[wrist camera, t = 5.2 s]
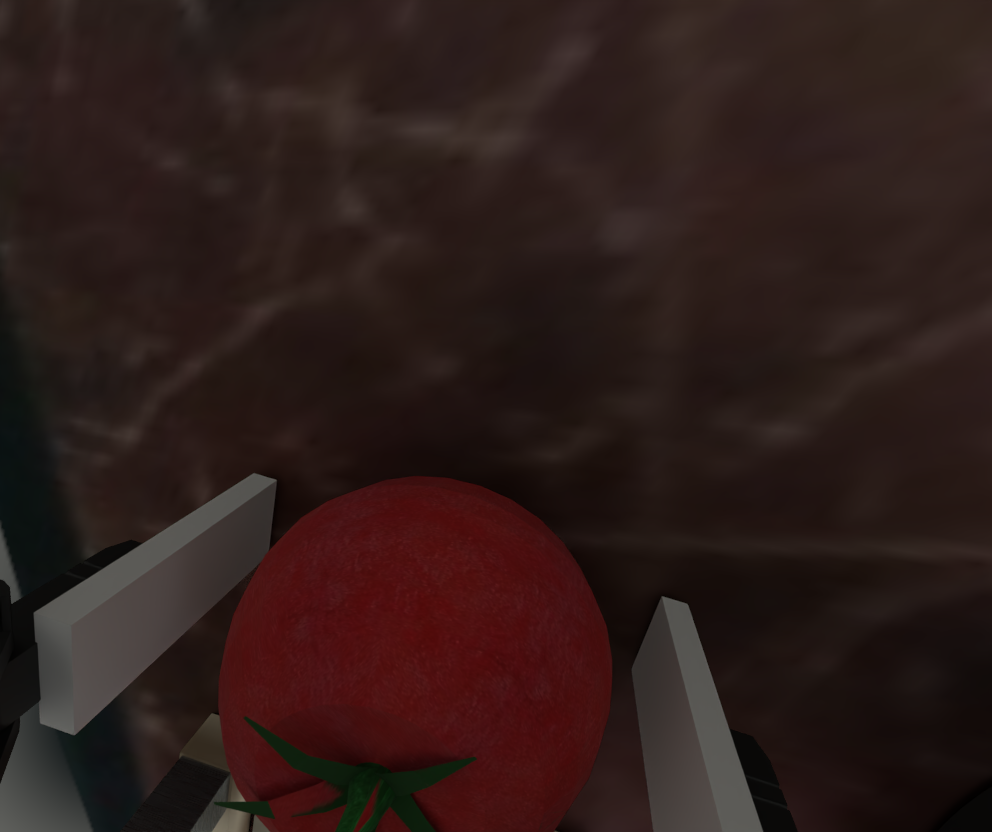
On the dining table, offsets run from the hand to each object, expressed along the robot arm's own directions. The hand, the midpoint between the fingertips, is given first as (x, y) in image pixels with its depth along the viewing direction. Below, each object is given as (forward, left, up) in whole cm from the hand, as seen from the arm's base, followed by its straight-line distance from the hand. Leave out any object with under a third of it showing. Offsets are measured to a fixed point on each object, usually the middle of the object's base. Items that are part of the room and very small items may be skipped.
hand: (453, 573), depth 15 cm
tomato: (0, 0, 0) cm, 0 cm away
